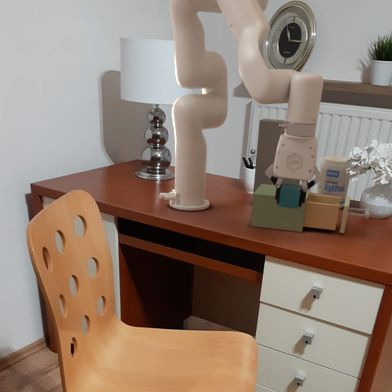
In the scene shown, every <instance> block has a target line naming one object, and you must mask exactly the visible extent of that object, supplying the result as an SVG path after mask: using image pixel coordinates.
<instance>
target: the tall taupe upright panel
mask: <svg viewBox="0 0 392 392" xmlns="http://www.w3.org/2000/svg"><path fill="white" fill-rule="evenodd" d="M285 121H286V119H276V118H275V119H274V118H261V119H260V120H259V122H258V123H259V124H258V132H257V133H258V135H257V146H256V159H255V168H254V181H253V191H252V192H253V193H252V195H253V194H254V192H255V191H256V190H257V189H258V187H259V186H260V185H261V184H267V185H274V184H273V182H272V181H271V179H270V178H269V177H268V176H267V175H266V174H265V171H266V170H267V169H268V168H269V167H270V166H271V165H272V164H273V163H274V162H275V157H276V151H277V146H278V142H279V139H280V136H281V135H282V134H284V131H283V130H282V129H279V124H280V123H284V122H285ZM272 173H273V171H272ZM273 174H274V173H273ZM278 178H279V177H277V179H278ZM283 183H291V184H299V185H301V180H295V179H286V178H284V179H283V182H282V185H283ZM252 203H253V198H252V199H251V204H252Z"/></svg>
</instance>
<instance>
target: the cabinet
mask: <svg viewBox="0 0 392 392" xmlns="http://www.w3.org/2000/svg"><path fill="white" fill-rule="evenodd" d="M311 192H312V189H311V188H310V189H309V190H307V193H306V199H305V203H302V206H301V207H298V209H294V208H286V207H279V204H277V200H275V195H276V187H275V185H267V184H261V185H260V186H259V187H258V189H257V190H256V191H255V192H254V194H253V193H252V199H253V203H252V202H251V216H250V227H254V228H255V227H256V228H265V229H271V230H272V229H274V230H281V231H290V232H298V233H302V232H303V230H304V228H305V227H303V222H304V215H305V208H306V201H307V199H308V196H309V194H312V193H311Z"/></svg>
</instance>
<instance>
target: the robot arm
mask: <svg viewBox="0 0 392 392" xmlns="http://www.w3.org/2000/svg"><path fill="white" fill-rule="evenodd" d="M168 2H169V3H168V5H169V6H168V7H169V14H170V22H171V27H172V33H173V34H172V35H173V53H174V56H173V57H174V72H175V78H176V82H177V84H178V86H179V87H180V88H183V89H188V90H201V91H202V93H194V94H193V93H191V94H184V95H181V96H180V97H178V98H177V99H176V100H174V103H173V105H172V108H171V118H172V119H171V120H172V124H173V131H174V188H172V191H169V192H160V193H159V200H164V201H169V206H170V207H171V208H172V209H176V210H179V211H188V212H189V211H191V212H192V211H202V210H203V211H204V210H206V209H208V208H209V207H210V203H211V202H210V201H209V200H208V199H206V179H207V156H208V147H207V140H206V138H205V135H204V133H203V130H210V129H217V128H220V127H221V126H223V125H224V123H226V120H227V116H228V109H229V103H228V102H229V98H228V97H229V95H228V94H229V93H228V92H229V89H228V87H229V85H228V83H229V80H228V79H229V77H228V68H227V67H228V66H227V64H226V60H225V58H224V57H223V56H222V55H221V54H220V53H218V52H216V51H211V50H206V43H205V41H206V39H205V38H206V37H205V36H206V35H205V29H204V26H203V23H202V21H201V19H200V16H199V15H198V13H199V12H204V13H214V14H222V16H223V17H224V19H225V21H226V23H227V25H228V27H229V28H230V31H231V32H232V35H233V36H234V38H235V41H236V42H237V45H238V50H237V69H238V73H239V77H240V78H241V81H242V83H243V84H244V86H245V89H246V90H247V92H248V94H249V96H250V97H251V98H252V99H253V100H254V101H255V102H256V103H258V104H259V105H274V104H275V105H277V104H278V105H279V104H280V105H281V104H287V108H286V109H287V110H286V117H285V120H286V121H285V122H284V123H280V124H279V129H282V130H283V131H284V134H282V135H281V136H280V139H279V142H278V146H277V151H276V157H275V162H274V163H273V164H272V165H271V166H270V167H269V168H268V169H267V170H266V171H265V174H266V175H267V176H268V177H269V178H270V179H271V181H272V182H273V184H274V185H275V187H276V195H275V200H277V204H279V199H280V191H281V186H282V182H283V179H284V178H286V179H295V180H300V181H301V185H302V190H301V193H300V199H299V207H301V206H302V203H305V199H306V193H307V190H309V189H311V188H313V187H314V186H316V185H318V183H319V182H320V181H322V179H323V177H322V175H321V173H320V169H319V168H318V165H317V158H318V136H316V133H317V126H318V119H319V114H320V106H321V101H322V95H323V87H324V77H323V76H322V74H319V73H314V72H300V71H297V70H295V69H290V68H269V67H268V66H267V64H266V62H265V60H264V58H263V55H262V54H261V50H260V45H262V44H263V43H264V42H265V40H266V39H267V38H268V36H269V34H270V31H271V24H270V22H269V20H268V18H267V17H266V15H265V13H264V12H265V11H266V9H267V7H268V5H269V0H169V1H168ZM272 171H273V173H274V174H273V173H272ZM314 176H315V178H314ZM277 177H279V178H278V179H277Z"/></svg>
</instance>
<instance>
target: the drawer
mask: <svg viewBox="0 0 392 392" xmlns="http://www.w3.org/2000/svg"><path fill="white" fill-rule="evenodd" d="M340 201H341V197H337V196H327V195H317V194H316V193H310V194H309V196H308V199H307V201H306V208H305V215H304V222H303V227H304V228H313V229H321V230H327V231H328V230H330V231H336V227H337V223H338V218H339V212H340V208H339V207H340ZM350 202H351V196H349V195H346V199H345V205H344V206H343V212H342V217H341V222H340V228H339V233H340V234H345V230H346V224H347V219H348V216H349V217H350V216H351V217H360V218H365V219H366V220H367V219H370V208H368V207H367V208H357V207H350ZM349 211H353V212H349ZM357 212H363V213H357Z"/></svg>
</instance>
